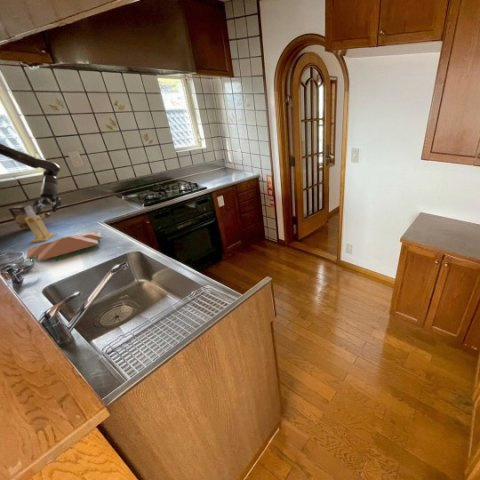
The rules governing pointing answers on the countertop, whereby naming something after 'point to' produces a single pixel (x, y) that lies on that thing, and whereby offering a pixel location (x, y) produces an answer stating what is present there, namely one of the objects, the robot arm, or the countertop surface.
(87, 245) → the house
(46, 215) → the flush lever
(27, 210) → the coffee box
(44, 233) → the flush bracket
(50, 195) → the robot arm
